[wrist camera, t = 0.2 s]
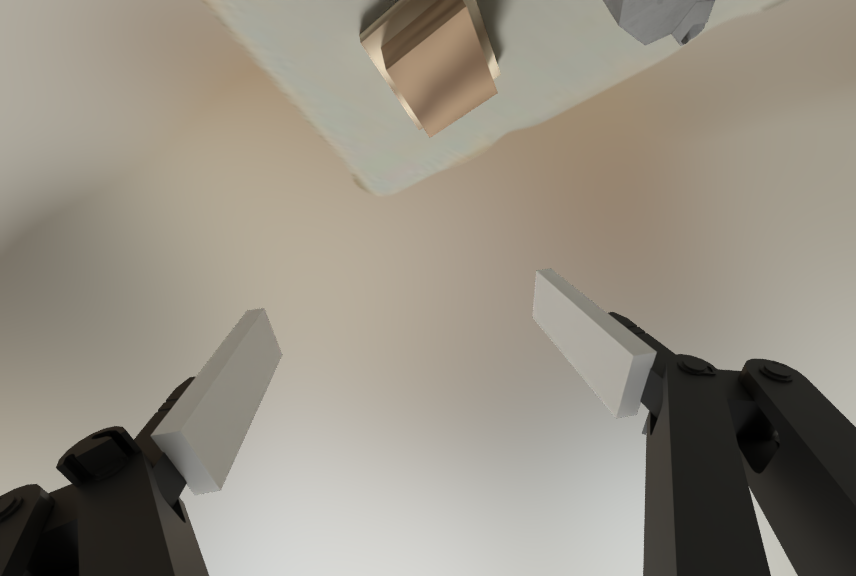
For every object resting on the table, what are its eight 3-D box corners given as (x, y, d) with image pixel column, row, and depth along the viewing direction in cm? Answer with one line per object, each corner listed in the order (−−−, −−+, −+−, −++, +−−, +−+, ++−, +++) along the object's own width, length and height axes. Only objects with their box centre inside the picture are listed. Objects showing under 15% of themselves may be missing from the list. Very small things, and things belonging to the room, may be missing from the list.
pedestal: (359, 35, 33) (364, 66, 30) (456, -51, 29) (475, -26, 26) (416, 121, 43) (425, 153, 40) (495, 66, 39) (513, 96, 35)
